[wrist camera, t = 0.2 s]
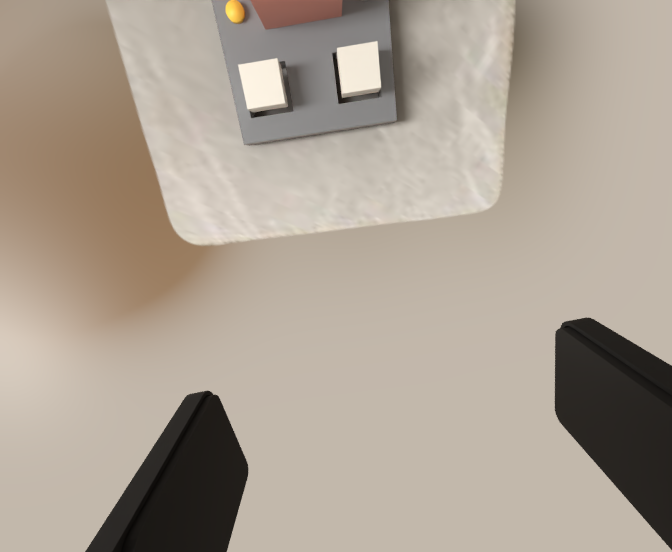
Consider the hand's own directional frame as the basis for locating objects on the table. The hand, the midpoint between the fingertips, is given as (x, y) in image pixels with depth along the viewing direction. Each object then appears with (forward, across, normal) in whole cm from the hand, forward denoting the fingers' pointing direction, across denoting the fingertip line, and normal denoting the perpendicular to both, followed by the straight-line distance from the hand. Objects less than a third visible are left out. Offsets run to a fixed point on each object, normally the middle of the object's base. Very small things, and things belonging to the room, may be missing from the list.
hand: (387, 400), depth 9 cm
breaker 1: (+28, +5, -15) cm, 32 cm away
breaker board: (+30, 0, -18) cm, 35 cm away
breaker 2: (+28, -4, -14) cm, 31 cm away
